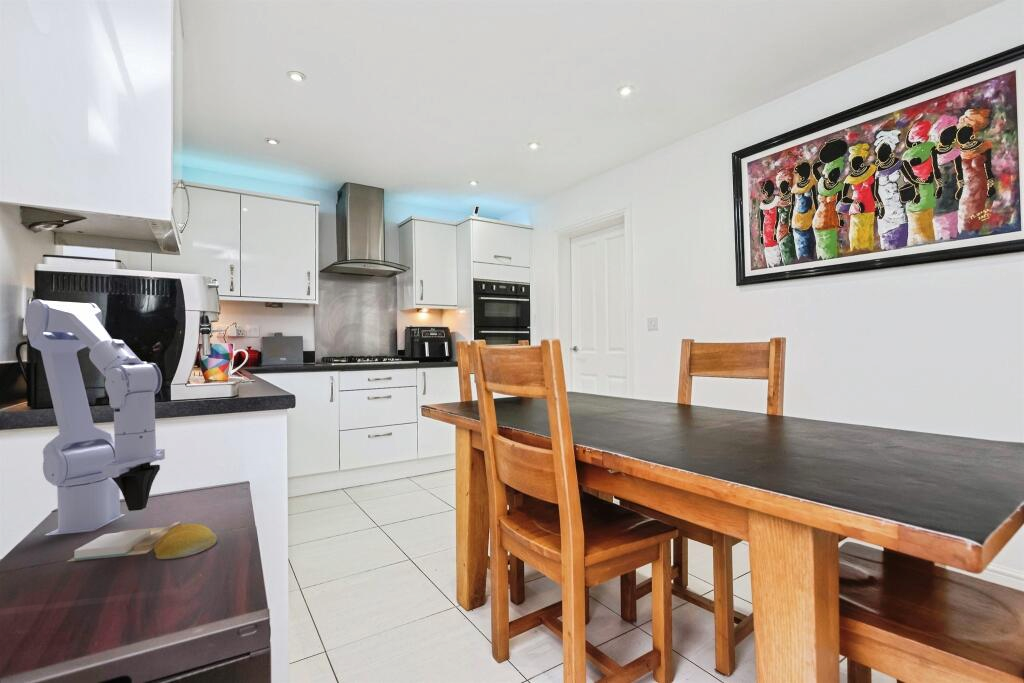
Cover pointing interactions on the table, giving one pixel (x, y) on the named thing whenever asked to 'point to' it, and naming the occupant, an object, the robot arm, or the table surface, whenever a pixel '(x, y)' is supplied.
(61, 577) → the table surface
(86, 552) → the tile
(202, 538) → the bread roll
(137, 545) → the spatula
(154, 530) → the board
